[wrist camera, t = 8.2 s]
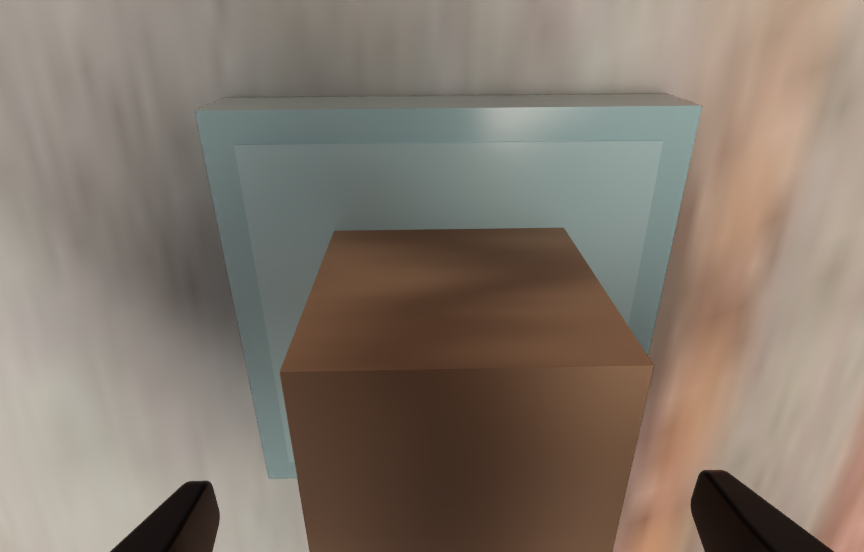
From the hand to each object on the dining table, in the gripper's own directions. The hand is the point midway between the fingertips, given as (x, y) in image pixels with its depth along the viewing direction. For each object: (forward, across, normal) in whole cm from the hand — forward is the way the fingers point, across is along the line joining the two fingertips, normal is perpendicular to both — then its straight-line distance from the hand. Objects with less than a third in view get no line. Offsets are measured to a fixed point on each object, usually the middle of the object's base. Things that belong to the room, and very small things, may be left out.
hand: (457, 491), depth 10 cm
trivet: (+8, 0, 0) cm, 8 cm away
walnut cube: (+6, 0, 0) cm, 6 cm away
